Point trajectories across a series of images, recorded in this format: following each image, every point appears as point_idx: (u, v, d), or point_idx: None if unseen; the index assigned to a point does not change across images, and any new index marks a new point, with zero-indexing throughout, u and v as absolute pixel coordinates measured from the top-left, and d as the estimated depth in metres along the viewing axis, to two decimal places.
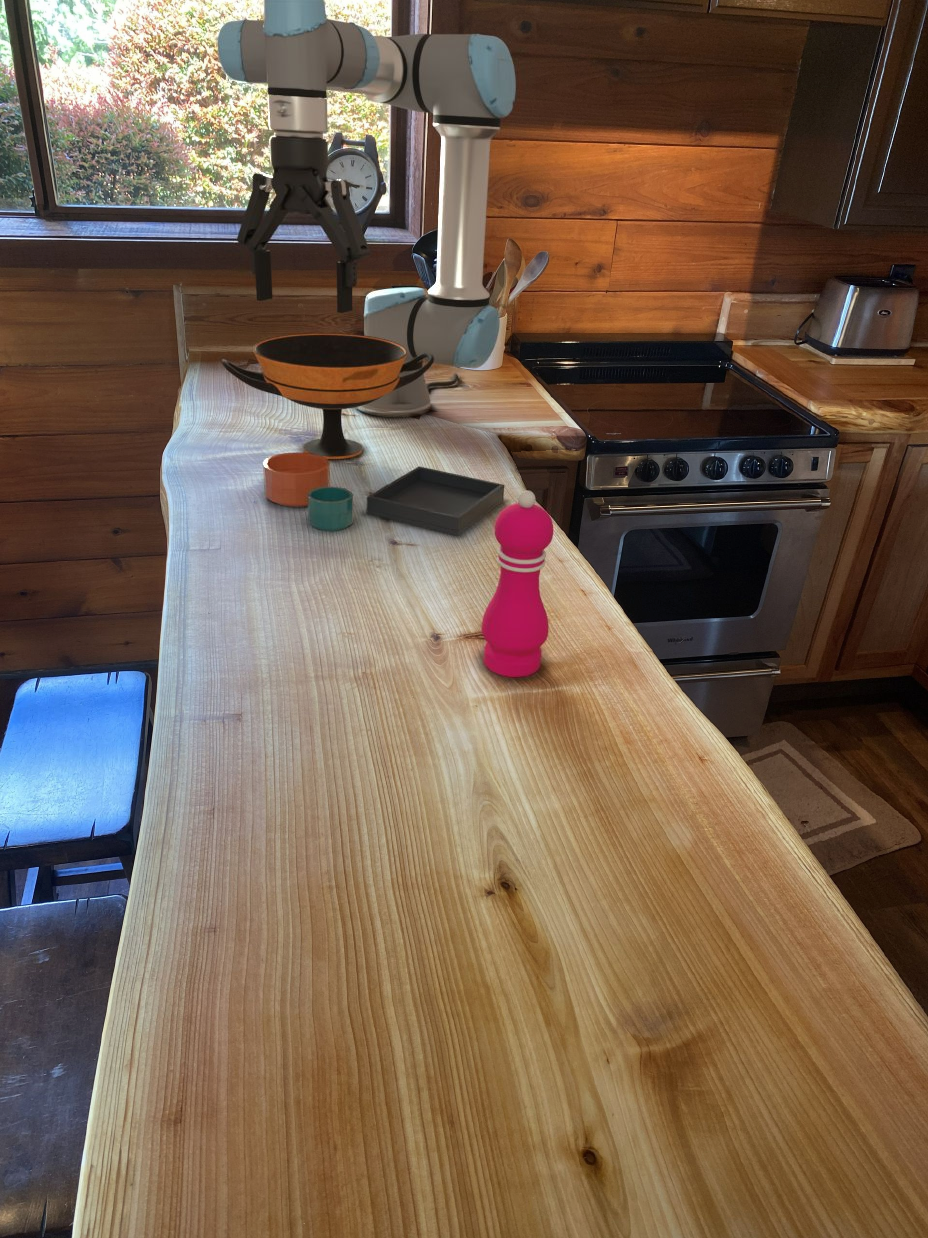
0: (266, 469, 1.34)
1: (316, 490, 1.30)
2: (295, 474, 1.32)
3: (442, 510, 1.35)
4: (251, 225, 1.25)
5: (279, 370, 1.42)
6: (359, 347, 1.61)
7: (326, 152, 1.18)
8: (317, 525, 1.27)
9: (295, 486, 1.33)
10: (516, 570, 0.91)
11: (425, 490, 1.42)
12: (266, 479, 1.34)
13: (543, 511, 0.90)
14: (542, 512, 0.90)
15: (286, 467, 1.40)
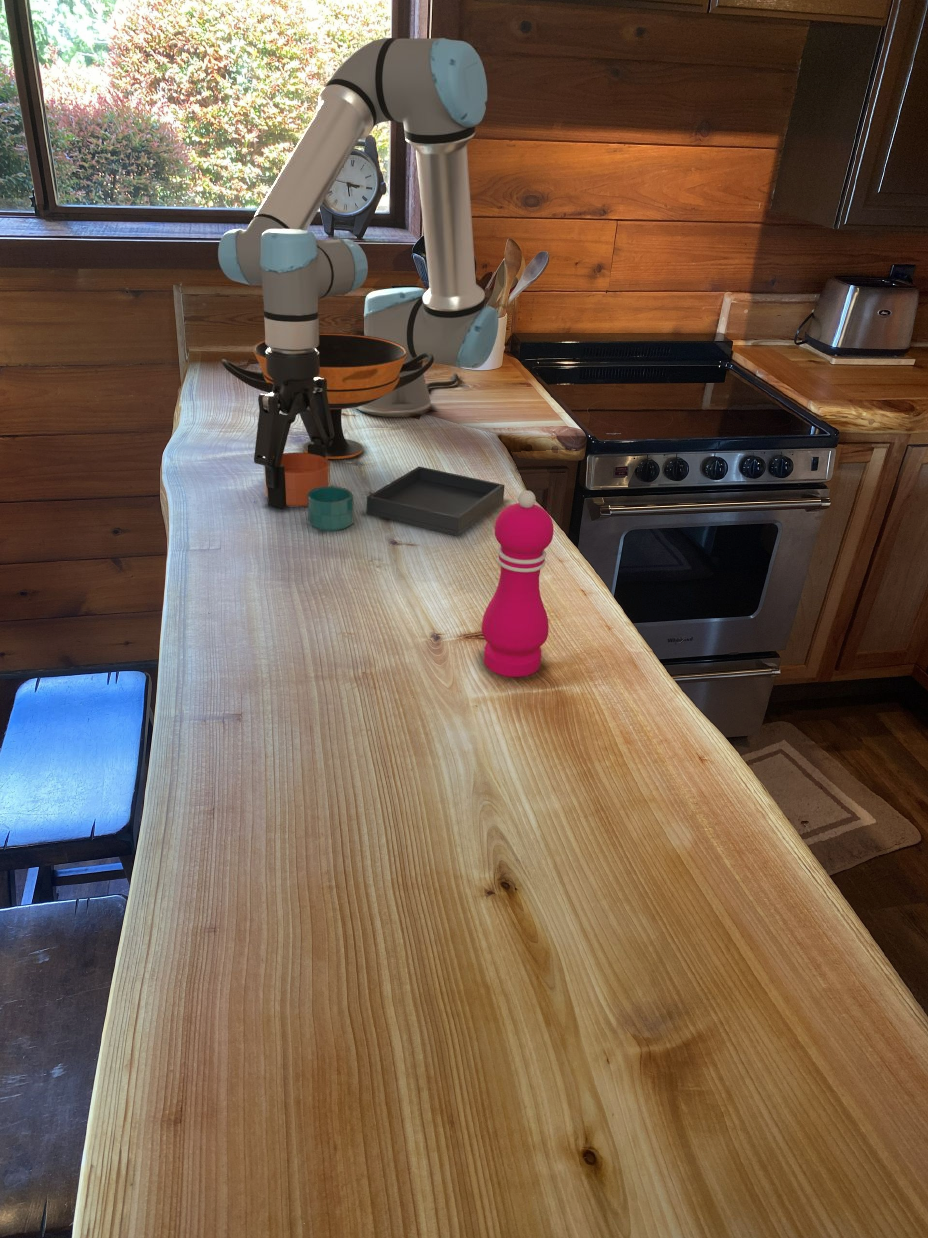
0: None
1: (316, 490, 1.30)
2: (295, 474, 1.32)
3: (442, 510, 1.35)
4: None
5: None
6: (359, 347, 1.61)
7: (283, 366, 1.26)
8: (317, 525, 1.27)
9: (295, 486, 1.33)
10: (516, 570, 0.91)
11: (425, 490, 1.42)
12: None
13: (543, 511, 0.90)
14: (542, 512, 0.90)
15: (286, 467, 1.40)
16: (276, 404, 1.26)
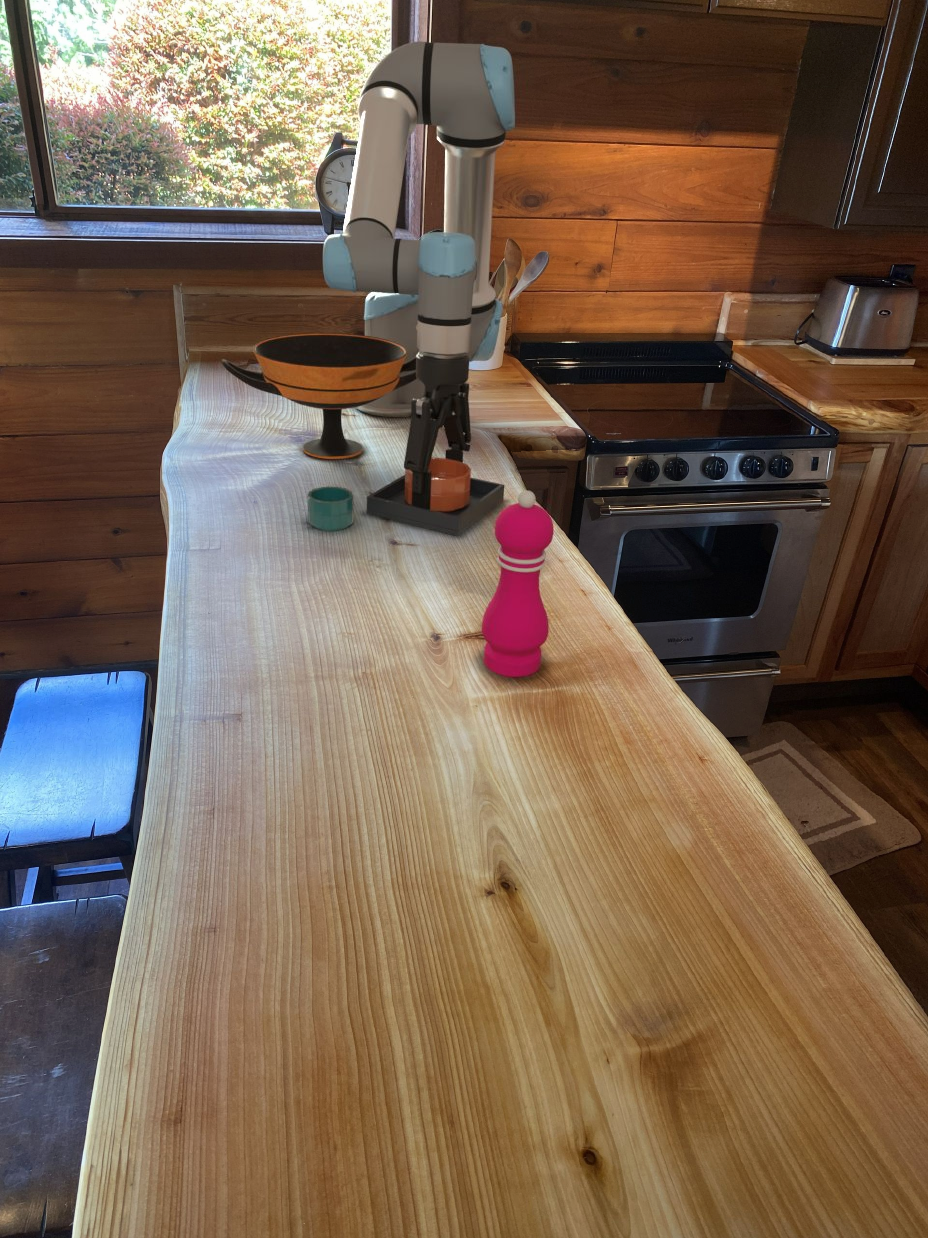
0: (410, 475, 1.32)
1: (316, 490, 1.30)
2: (441, 480, 1.31)
3: None
4: None
5: (279, 370, 1.42)
6: (359, 347, 1.61)
7: (437, 371, 1.24)
8: (317, 525, 1.27)
9: (441, 492, 1.31)
10: (516, 570, 0.91)
11: None
12: (409, 485, 1.33)
13: (543, 511, 0.90)
14: (542, 512, 0.90)
15: None
16: (429, 409, 1.25)
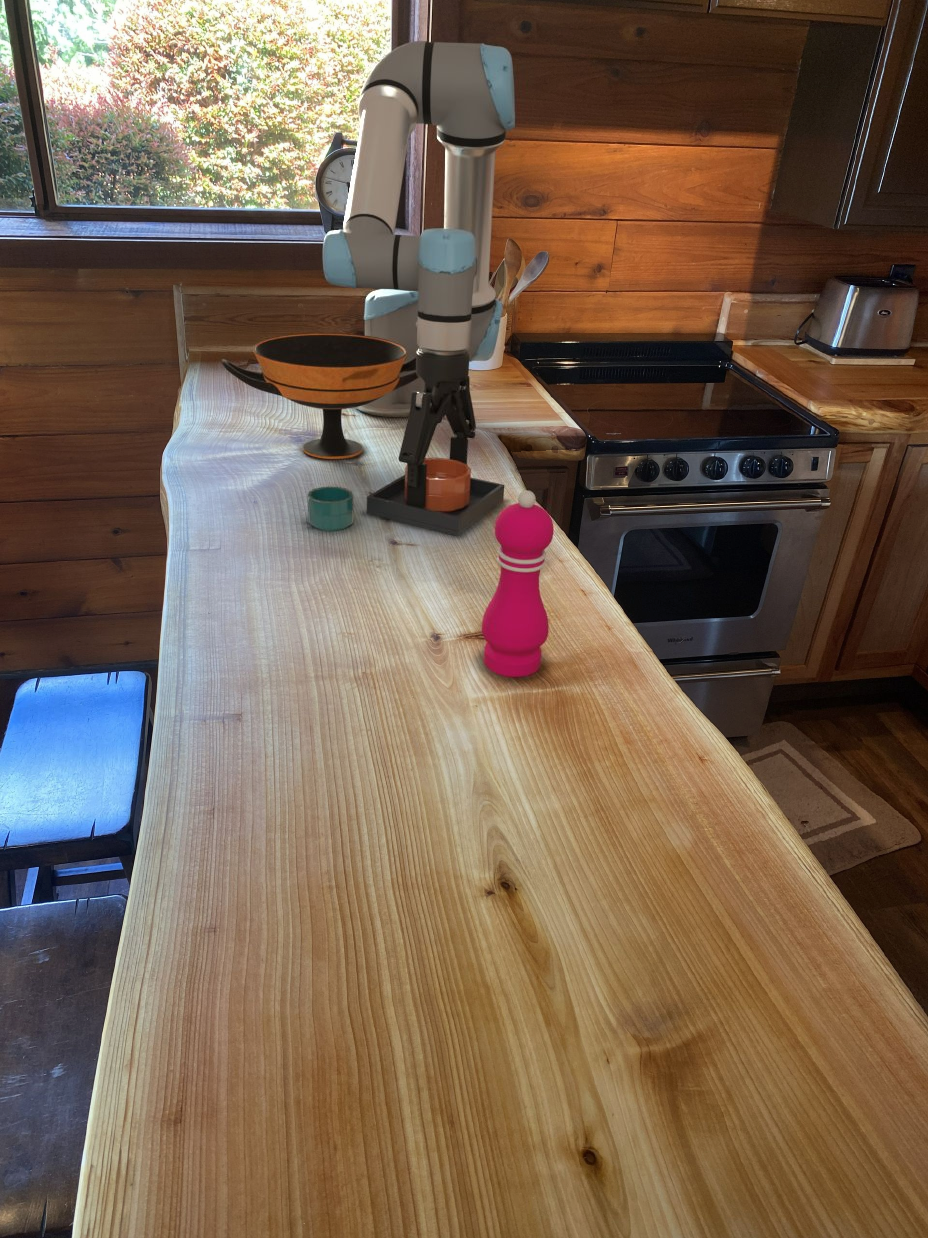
0: None
1: (316, 490, 1.30)
2: (441, 480, 1.31)
3: None
4: None
5: (279, 370, 1.42)
6: (359, 347, 1.61)
7: (437, 368, 1.24)
8: (317, 525, 1.27)
9: (441, 492, 1.31)
10: (516, 570, 0.91)
11: None
12: None
13: (543, 511, 0.90)
14: (542, 512, 0.90)
15: None
16: (429, 402, 1.24)
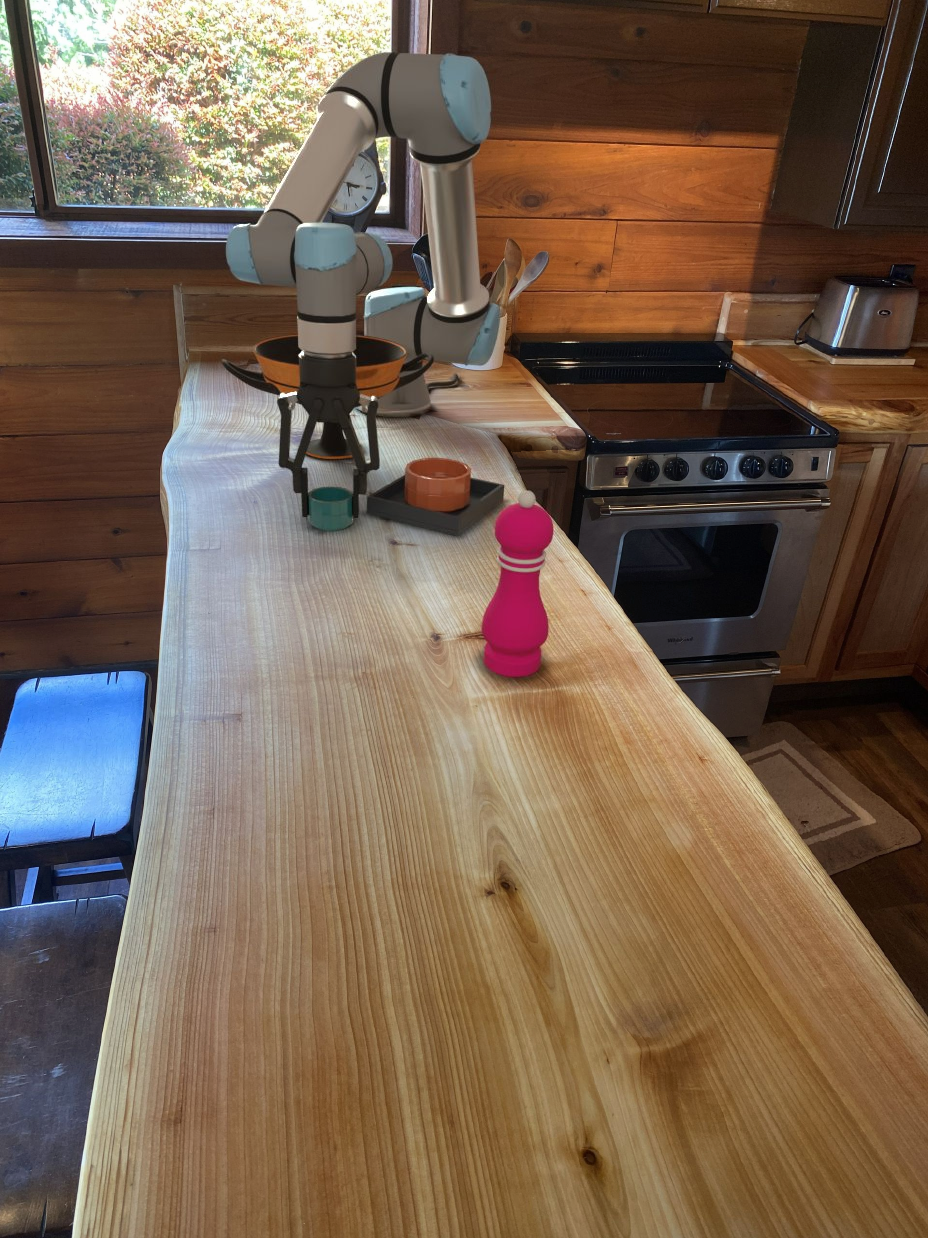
0: (410, 475, 1.32)
1: (316, 490, 1.30)
2: (441, 480, 1.31)
3: None
4: None
5: (279, 370, 1.42)
6: (359, 347, 1.61)
7: (299, 366, 1.18)
8: (317, 525, 1.27)
9: (441, 492, 1.31)
10: (516, 570, 0.91)
11: None
12: (409, 485, 1.33)
13: (543, 511, 0.90)
14: (542, 512, 0.90)
15: (423, 472, 1.39)
16: (284, 405, 1.20)
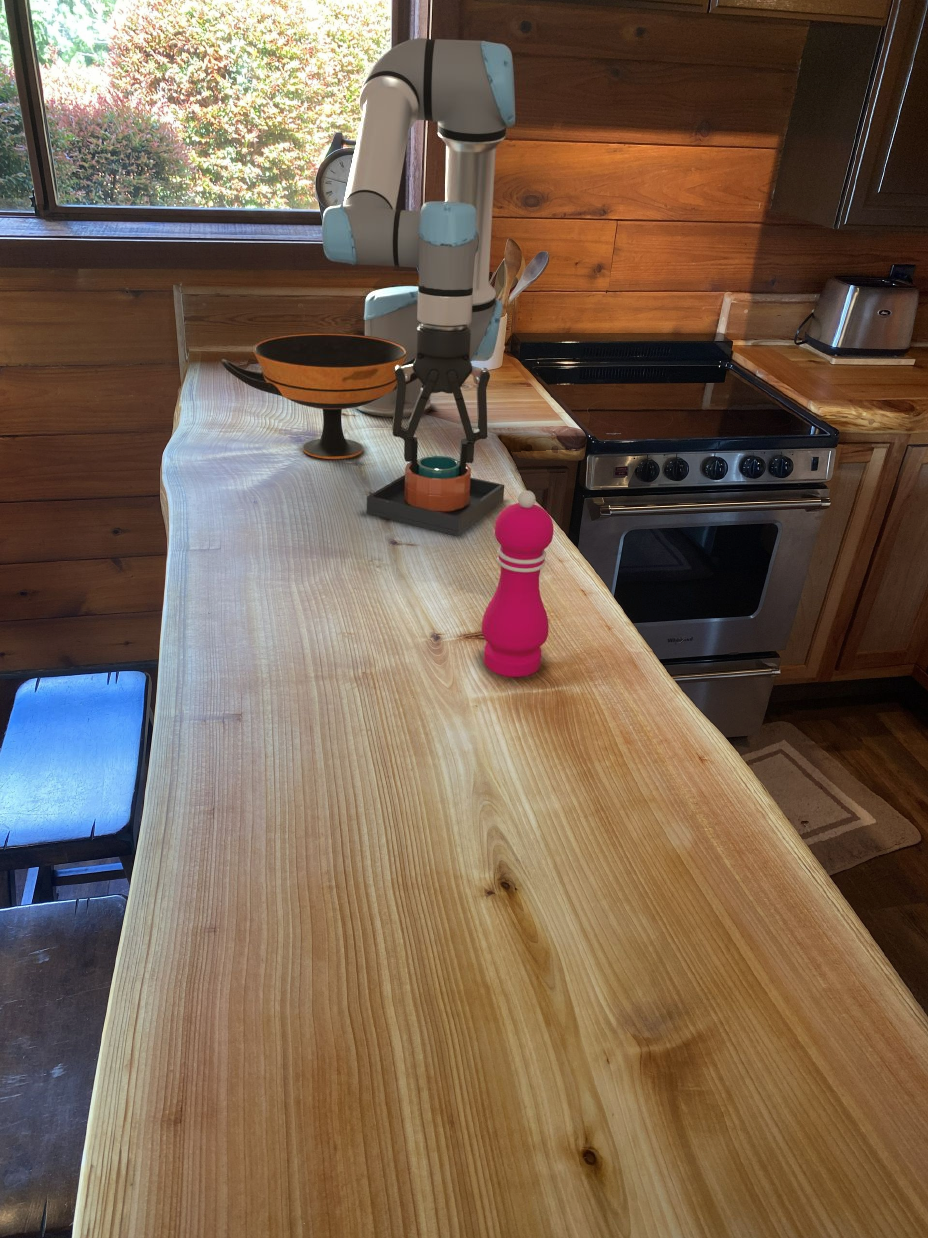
0: (410, 475, 1.32)
1: (424, 459, 1.36)
2: (441, 480, 1.31)
3: None
4: (477, 415, 1.32)
5: (279, 370, 1.42)
6: (359, 347, 1.61)
7: (418, 338, 1.24)
8: None
9: (441, 492, 1.31)
10: (516, 570, 0.91)
11: None
12: (409, 485, 1.33)
13: (543, 511, 0.90)
14: (542, 512, 0.90)
15: None
16: (401, 376, 1.27)
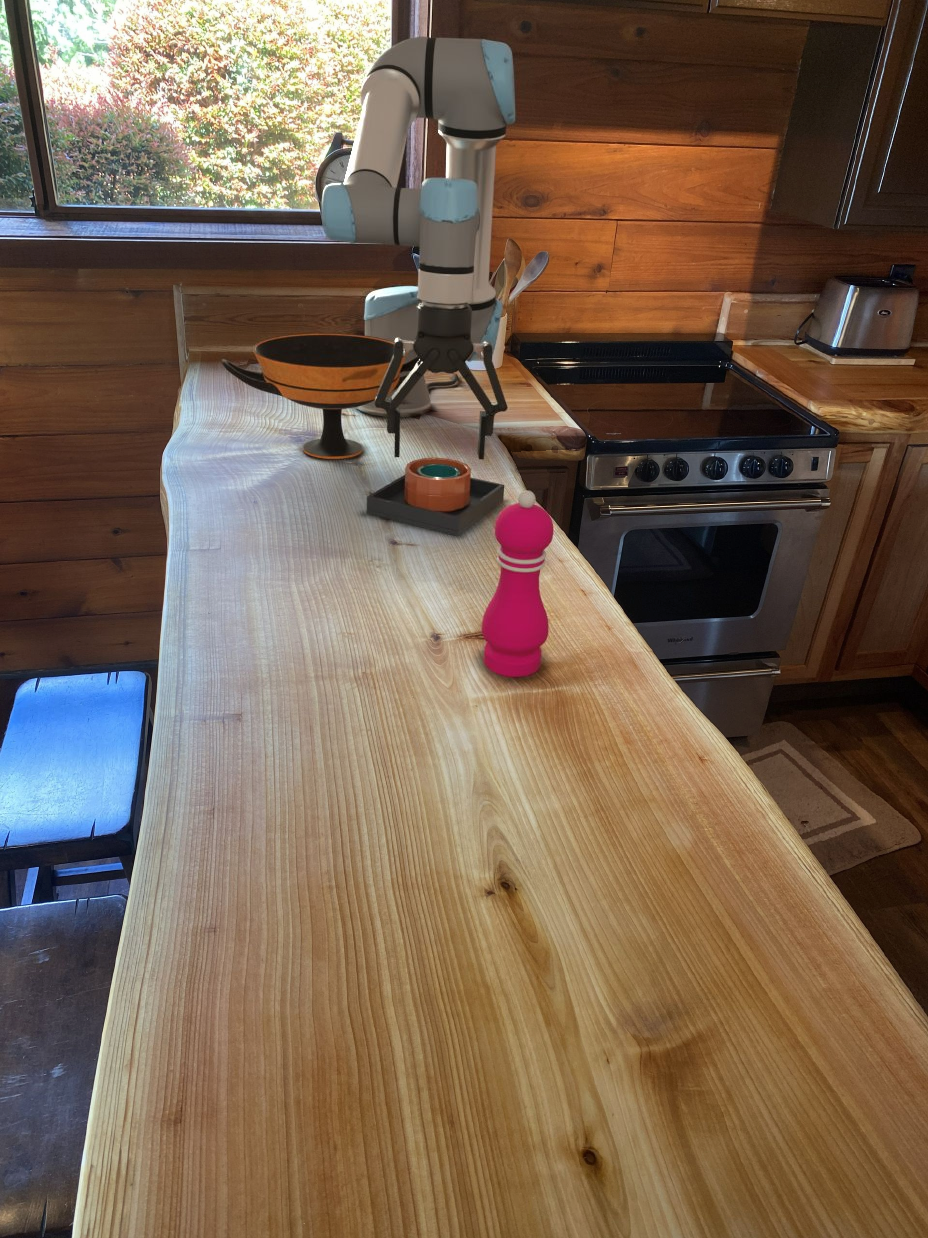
0: (410, 475, 1.32)
1: (424, 467, 1.36)
2: (441, 480, 1.31)
3: None
4: None
5: (279, 370, 1.42)
6: (359, 347, 1.61)
7: (418, 317, 1.23)
8: None
9: (441, 492, 1.31)
10: (516, 570, 0.91)
11: None
12: (409, 485, 1.33)
13: (543, 511, 0.90)
14: (542, 512, 0.90)
15: None
16: (400, 350, 1.25)
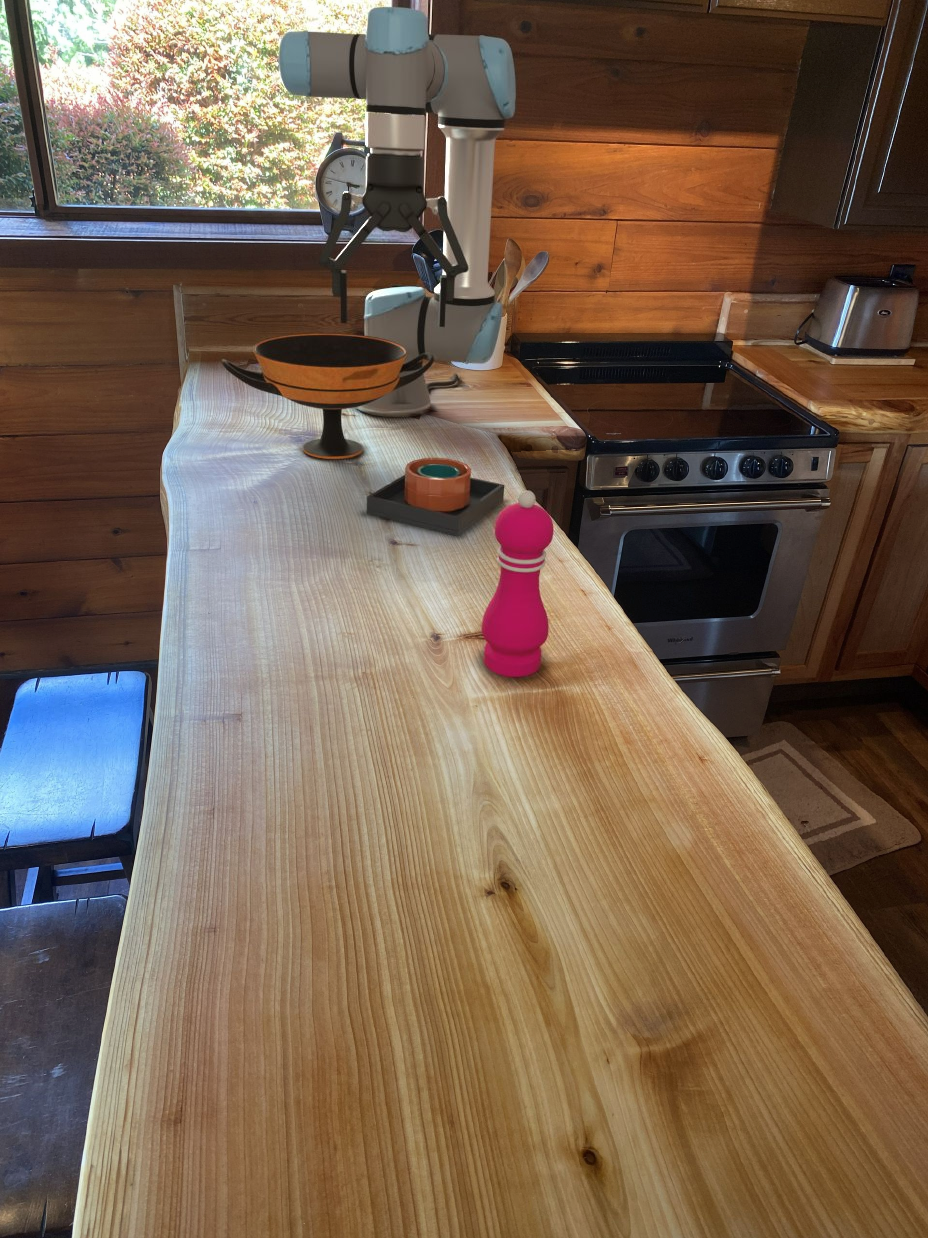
0: (410, 475, 1.32)
1: (424, 467, 1.36)
2: (441, 480, 1.31)
3: None
4: None
5: (279, 370, 1.42)
6: (359, 347, 1.61)
7: (367, 167, 1.15)
8: None
9: (441, 492, 1.31)
10: (516, 570, 0.91)
11: None
12: (409, 485, 1.33)
13: (543, 511, 0.90)
14: (542, 512, 0.90)
15: None
16: (348, 202, 1.17)
